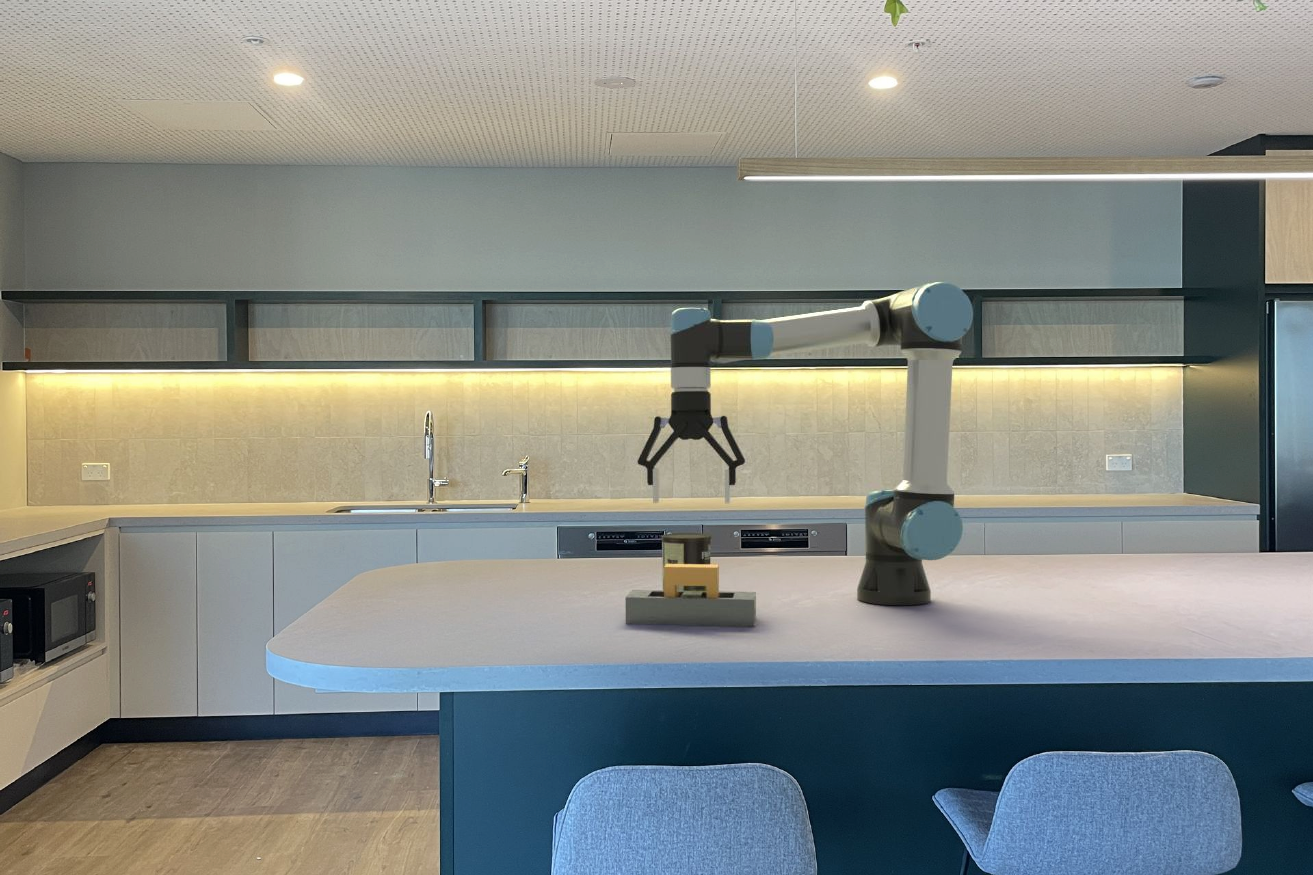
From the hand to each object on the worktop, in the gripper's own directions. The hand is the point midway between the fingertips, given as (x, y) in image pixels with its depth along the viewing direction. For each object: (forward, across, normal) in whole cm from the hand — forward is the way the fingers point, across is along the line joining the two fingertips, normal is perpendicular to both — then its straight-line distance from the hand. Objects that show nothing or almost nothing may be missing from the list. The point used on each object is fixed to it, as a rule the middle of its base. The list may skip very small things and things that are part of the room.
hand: (691, 502), depth 203 cm
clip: (+21, 0, 0) cm, 21 cm away
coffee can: (+23, +3, -19) cm, 30 cm away
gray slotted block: (+22, 0, 0) cm, 22 cm away
